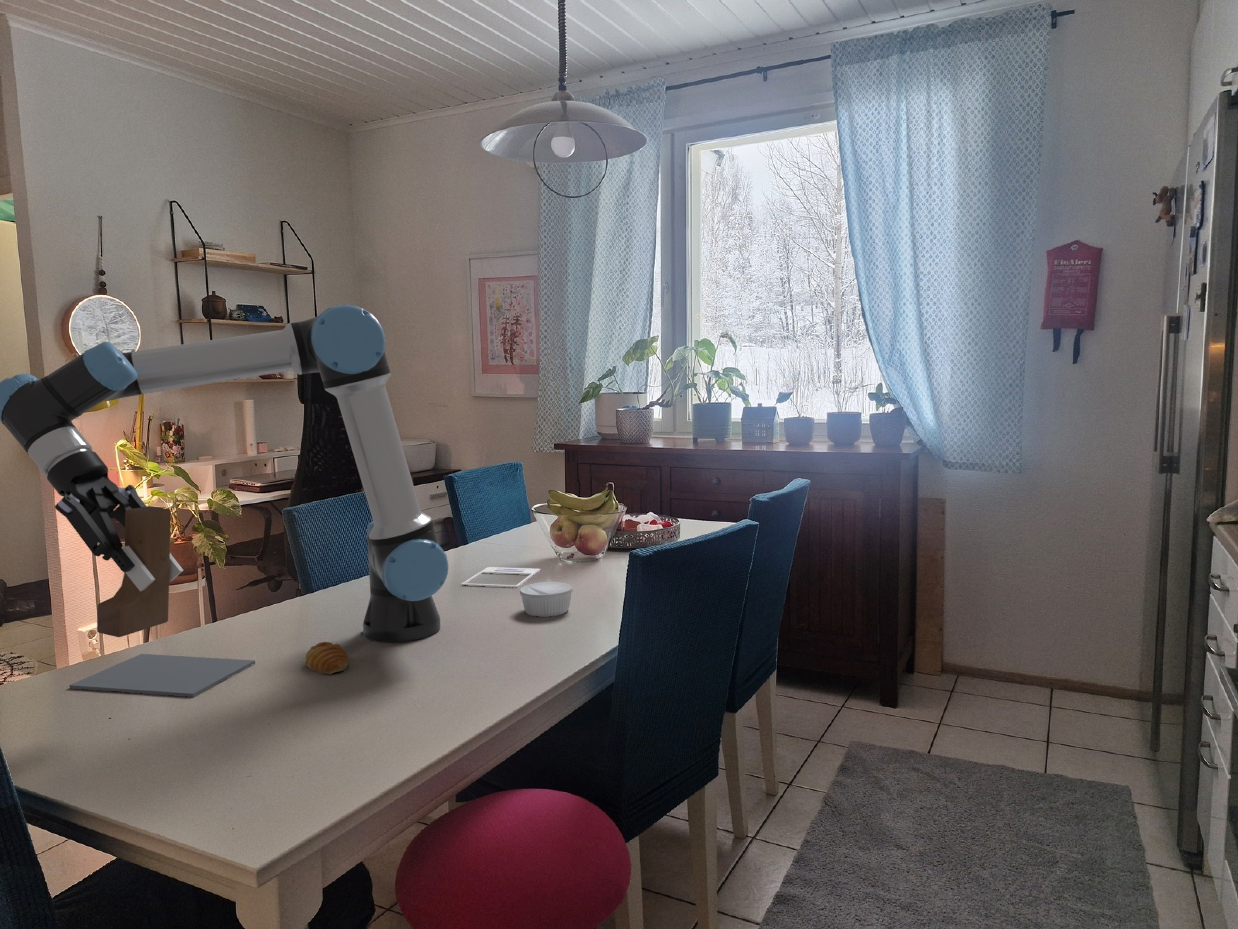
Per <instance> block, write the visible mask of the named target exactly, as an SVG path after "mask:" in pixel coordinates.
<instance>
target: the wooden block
mask: <svg viewBox="0 0 1238 929" xmlns="http://www.w3.org/2000/svg"><path fill="white" fill-rule="evenodd" d="M171 512H172V511H171V510H170V509H167V508H161V507H157V506H151V505H146V507H140V508H134V509H128V510H126V512H125V527H124V547H125V546H129V547H130V548H131V549H132V550H133V552H134V553H135V554H136V555H137V557H138V558H139V559H140V561H141V562H142V563H143V564H144V566H145V567H146V568H147V569H148V571H149V572H150V573H151V575H152V576H153V577H154V578H155V580H154V581H153V582H152V583H151V584H150V585H149V586H148V587H147V588H146V589H145V590H143V591H139V589H138V588H137V587H136V585H135V584H134V583H133V582H132V580H131V579H130V578H129V577H128V575H127V574H126V573H124V572H123V573H124V574H123V578H122V582H121V585H120V587H119V588H118V589H117V591H116V593H115V594H113V596H111V597H109V598H108V599H106V600H104V601H101V602H100V603H97V607H96V608H97V612H96V613H97V614H96V615H97V616H96V618H97V620H96V630H97V633H99V634H103V635H107V636H111V637H115V638H123V637H126V636H128V635H131V634H134V633H138V632H141V631H143V630H147V629H150V628H152V627H153V628H154V627H156V626H159V625H162V624H165V623H168V622H169V605H170V604H169V602H170V601H169V598H170V582H169V564H170V552H171V522H172V521H171V520H172V519H171V518H172V516H171V514H172V513H171Z"/></svg>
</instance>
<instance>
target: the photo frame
mask: <svg viewBox="0 0 1238 929" xmlns="http://www.w3.org/2000/svg"><path fill="white" fill-rule="evenodd" d="M540 570H542V569H541V568H529V567H499V566H498V567H497V566H494V567H493V566H488V567H485V568H483V570H481V571H479V572H477V573H476V574H475V575H472V576H471V577H469V578H468V579H466V580H464V581H463V582H461V583H460V586H461V585H471V586H470V587H474V586H485V587H484V588H500V587H506V588H508V587H509V588H508V589H519V588H520V587H521V586H522V585H524V584H525V583H526V582H527V580H528V579H529V578H530V579H531V577H532V576H533V575H534V576H535V574H536V573H537V572H538V573H539V572H541V571H540ZM482 573H493V574H492V575H505V574H519V575H518V576H526V577H525V578H523V579H522V580H521V581H519V583H517V584H516V585H515V584H493V583H491V584H490V583H488V584H487V583H470V581H471V580H472V579H473V578H475V579H477V578H478V577H479V575H480V576H482V575H483V574H482ZM538 573H537V574H538ZM481 574H482V575H481ZM537 574H536V575H537ZM477 576H478V577H477ZM534 576H533V577H534ZM476 577H477V578H476ZM533 577H532V578H533ZM530 579H529V580H530ZM529 580H528V581H529ZM472 581H473V580H472ZM472 581H471V582H472ZM468 582H469V583H468ZM524 582H525V583H524ZM523 583H524V584H523ZM520 585H521V586H520ZM519 586H520V587H519ZM510 587H511V588H510ZM512 587H513V588H512ZM518 587H519V588H518ZM506 588H505V589H506Z"/></svg>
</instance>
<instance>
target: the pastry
mask: <svg viewBox="0 0 1238 929" xmlns="http://www.w3.org/2000/svg"><path fill="white" fill-rule="evenodd" d="M304 659H305V665H306V666H307V668H309V670H311V671H314V672H315V673H318V674H321V675H332V674H334V673H338V672H342V671H345V670H346V669H347V667H348V665H349V658H348V653H347V651H346V650H345V649H344V647H342V646H341V645H339V644H337V643H333V642H330V641H329V642H328V641H323V642H322V641H321V642H318V643H317V644H315V645H312V646H311V647H310V648H309V650H308V651H307V652H306V654H305V658H304Z"/></svg>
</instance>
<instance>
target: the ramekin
mask: <svg viewBox="0 0 1238 929" xmlns="http://www.w3.org/2000/svg"><path fill="white" fill-rule="evenodd" d="M572 593H573V586H572V585H570V584H569V583H566V582H562V581H542V582H534V583H530V584H527V585H525V586H524V585H523V586H522V587H521V588H520V590H519V595H520V596H521V599H522V605H523V608H524V609H523V610H524V612H525V613H526V614H527V615H529V616H531V617H536V616H539V618H540V617H541V618H549V616H552V617H556V616H560V615H564V614H566V613H567V612H568V611H569V608H570V606H571V605H570V604H571V598H572Z"/></svg>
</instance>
